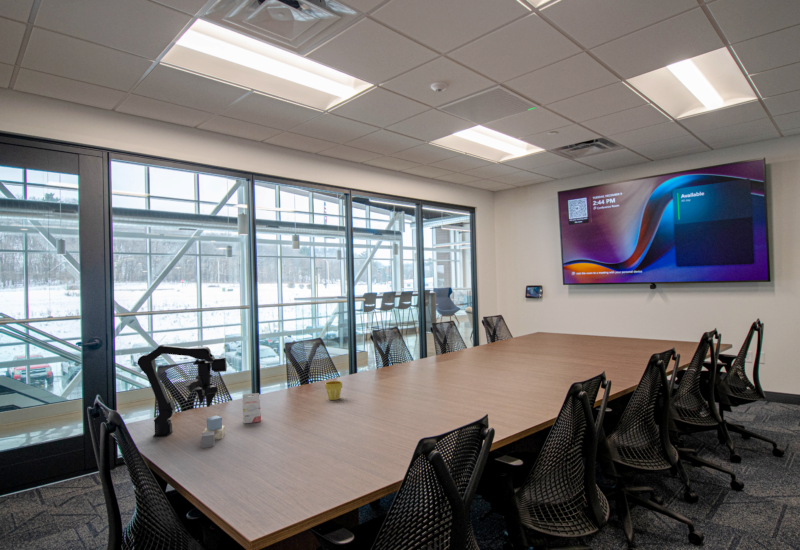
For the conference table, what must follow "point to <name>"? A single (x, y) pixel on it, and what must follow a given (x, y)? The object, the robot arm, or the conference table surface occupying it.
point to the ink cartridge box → (251, 408)
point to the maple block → (217, 432)
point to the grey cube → (207, 439)
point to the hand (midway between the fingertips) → (204, 405)
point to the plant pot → (333, 389)
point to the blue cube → (214, 423)
